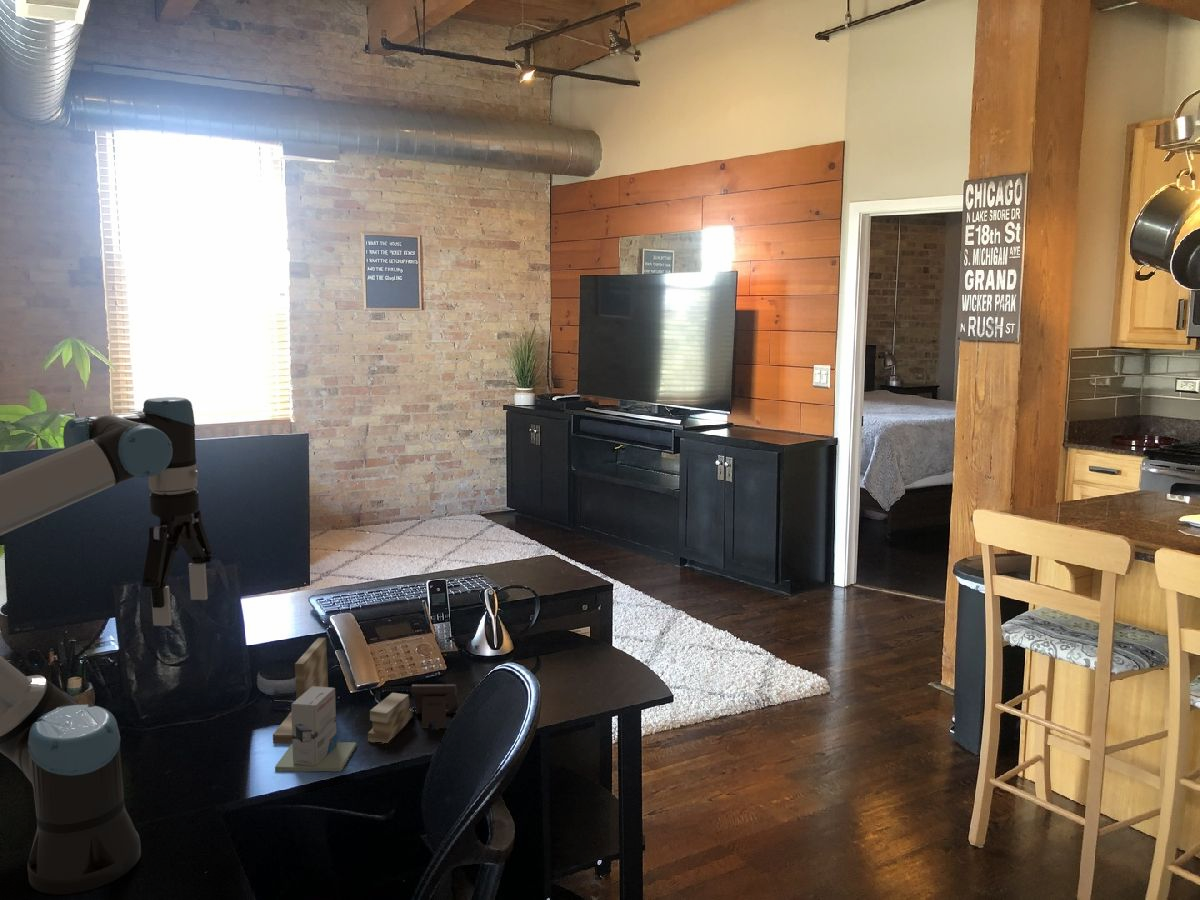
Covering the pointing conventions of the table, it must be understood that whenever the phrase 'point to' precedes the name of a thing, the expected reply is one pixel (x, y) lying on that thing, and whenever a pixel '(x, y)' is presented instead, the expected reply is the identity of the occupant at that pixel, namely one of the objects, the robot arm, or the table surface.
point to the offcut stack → (389, 717)
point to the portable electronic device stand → (435, 702)
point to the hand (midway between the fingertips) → (181, 611)
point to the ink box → (313, 725)
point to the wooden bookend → (306, 682)
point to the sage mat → (329, 763)
